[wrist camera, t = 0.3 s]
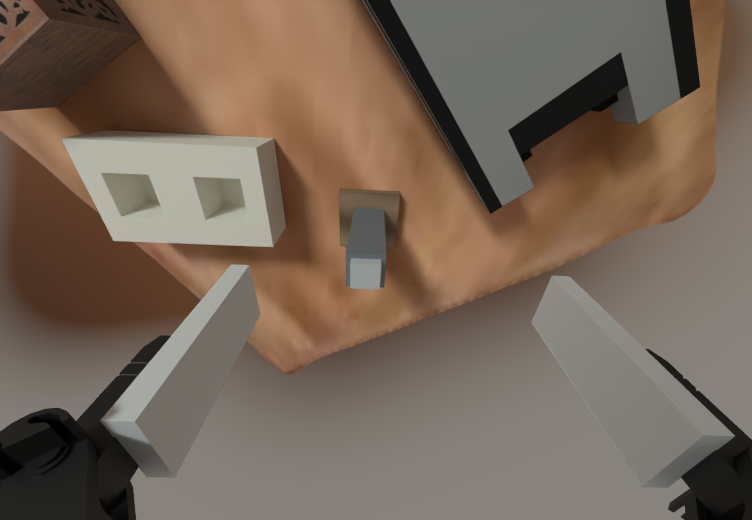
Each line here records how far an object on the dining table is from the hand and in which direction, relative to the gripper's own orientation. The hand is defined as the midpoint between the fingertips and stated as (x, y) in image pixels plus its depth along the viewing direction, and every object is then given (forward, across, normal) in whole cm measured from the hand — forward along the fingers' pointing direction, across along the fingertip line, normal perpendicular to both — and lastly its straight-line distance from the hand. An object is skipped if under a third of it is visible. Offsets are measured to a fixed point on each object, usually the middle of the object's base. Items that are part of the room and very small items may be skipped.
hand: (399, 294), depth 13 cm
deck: (+28, -2, -8) cm, 29 cm away
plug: (+26, -2, -8) cm, 27 cm away
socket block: (+27, -24, -4) cm, 36 cm away
